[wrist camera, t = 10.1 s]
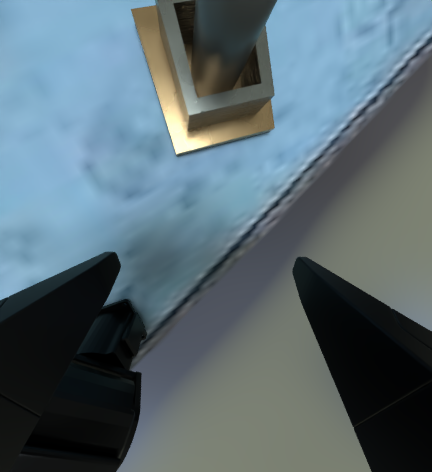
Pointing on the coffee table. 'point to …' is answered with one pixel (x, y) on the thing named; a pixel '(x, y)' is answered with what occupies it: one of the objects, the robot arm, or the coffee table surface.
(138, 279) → the coffee table surface
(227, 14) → the round-top grey peg
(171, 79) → the socket
